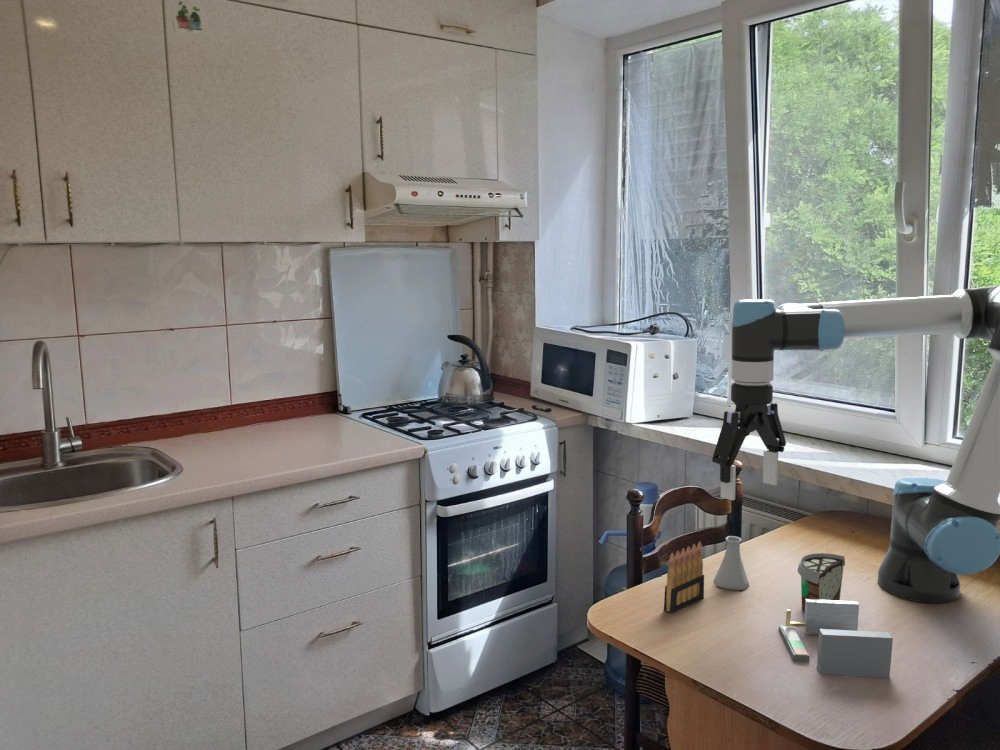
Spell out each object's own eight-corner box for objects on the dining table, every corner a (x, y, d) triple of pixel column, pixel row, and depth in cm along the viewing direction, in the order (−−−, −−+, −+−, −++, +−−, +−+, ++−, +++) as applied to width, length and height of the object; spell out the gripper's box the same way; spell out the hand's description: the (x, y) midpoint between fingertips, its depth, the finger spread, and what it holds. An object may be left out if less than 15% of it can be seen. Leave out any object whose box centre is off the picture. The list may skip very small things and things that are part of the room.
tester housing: (859, 634, 146) (862, 598, 145) (889, 677, 132) (892, 638, 130) (778, 630, 148) (780, 594, 147) (799, 672, 133) (802, 633, 132)
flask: (711, 588, 166) (713, 542, 164) (715, 574, 173) (717, 530, 171) (747, 593, 163) (750, 547, 162) (750, 580, 170) (753, 535, 168)
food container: (812, 593, 163) (815, 547, 162) (842, 603, 159) (845, 555, 157) (783, 613, 155) (786, 564, 153) (814, 623, 150) (818, 573, 149)
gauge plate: (854, 632, 146) (857, 601, 145) (856, 635, 145) (859, 604, 144) (785, 628, 147) (786, 598, 146) (786, 631, 146) (788, 601, 145)
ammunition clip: (671, 614, 154) (673, 555, 152) (663, 611, 156) (665, 552, 154) (704, 598, 161) (706, 541, 159) (696, 595, 163) (698, 539, 161)
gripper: (772, 372, 161) (769, 474, 164) (693, 388, 146) (692, 500, 149) (806, 376, 155) (803, 481, 158) (728, 393, 140) (726, 509, 143)
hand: (749, 491), depth 154 cm, fingers open, 13 cm apart
